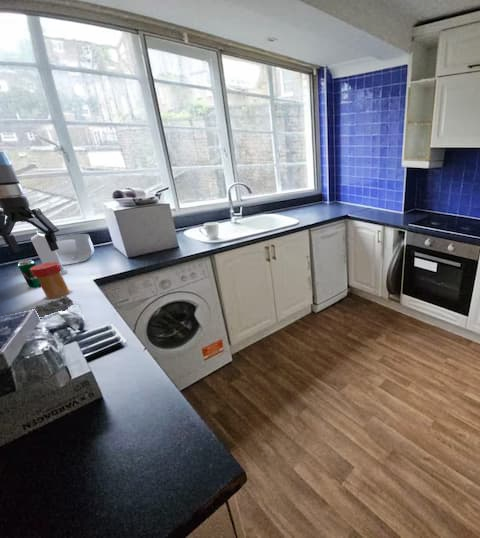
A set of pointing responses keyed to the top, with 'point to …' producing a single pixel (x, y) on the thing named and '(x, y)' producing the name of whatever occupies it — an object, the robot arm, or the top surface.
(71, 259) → the bowl
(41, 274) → the lid
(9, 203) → the robot arm
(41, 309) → the egg carton
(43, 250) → the milk
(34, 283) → the soda can
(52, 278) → the jar
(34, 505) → the top surface
